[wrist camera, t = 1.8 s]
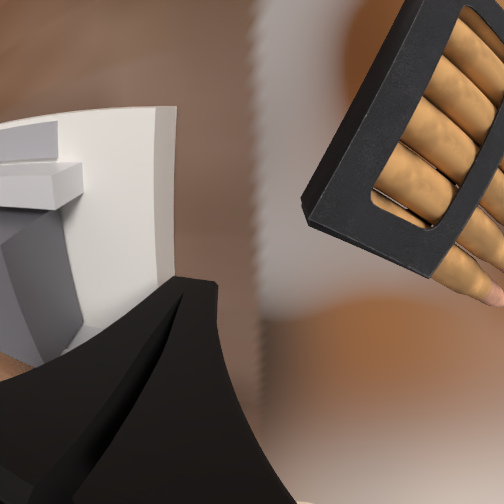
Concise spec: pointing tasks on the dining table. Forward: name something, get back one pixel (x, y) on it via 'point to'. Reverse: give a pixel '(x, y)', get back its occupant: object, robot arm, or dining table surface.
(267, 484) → the robot arm
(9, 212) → the switch tab
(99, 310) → the switch board
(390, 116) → the ammunition clip
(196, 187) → the dining table surface
